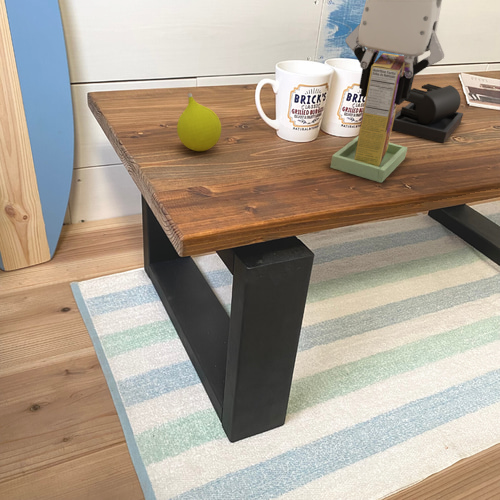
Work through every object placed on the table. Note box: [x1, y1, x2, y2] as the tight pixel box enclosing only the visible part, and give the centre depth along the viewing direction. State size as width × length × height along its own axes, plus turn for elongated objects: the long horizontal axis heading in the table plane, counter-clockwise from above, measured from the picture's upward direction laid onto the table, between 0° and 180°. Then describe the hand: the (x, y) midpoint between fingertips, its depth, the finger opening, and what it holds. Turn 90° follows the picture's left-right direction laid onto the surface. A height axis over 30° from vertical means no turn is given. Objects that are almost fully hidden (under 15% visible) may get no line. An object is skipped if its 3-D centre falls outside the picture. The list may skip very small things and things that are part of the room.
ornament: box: [176, 92, 222, 152], centre depth 81 cm, size 7×7×10 cm
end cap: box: [400, 83, 462, 126], centre depth 98 cm, size 10×7×7 cm
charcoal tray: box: [391, 102, 464, 144], centre depth 100 cm, size 11×14×2 cm
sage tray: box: [329, 135, 408, 184], centre depth 83 cm, size 9×12×2 cm
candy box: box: [354, 52, 404, 167], centre depth 79 cm, size 9×4×15 cm, turn 158°
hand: (382, 97), depth 78 cm, fingers closed on candy box, 4 cm apart
